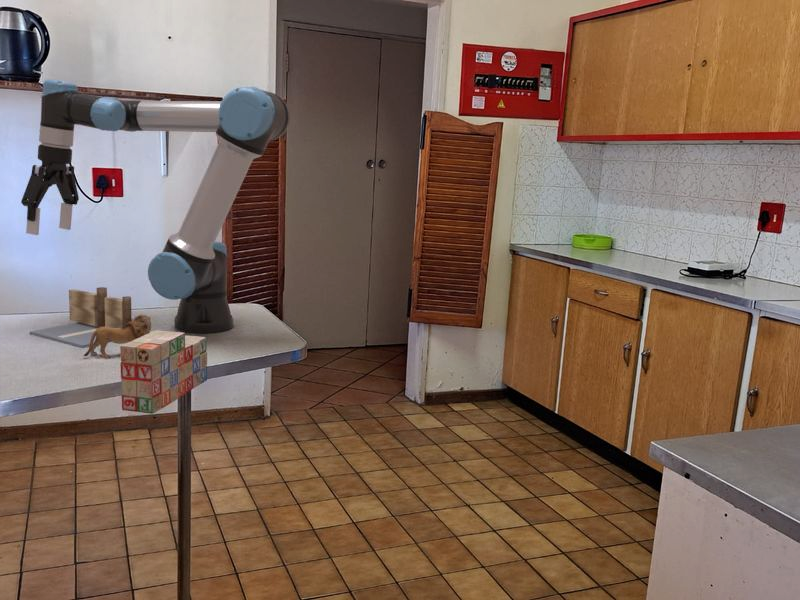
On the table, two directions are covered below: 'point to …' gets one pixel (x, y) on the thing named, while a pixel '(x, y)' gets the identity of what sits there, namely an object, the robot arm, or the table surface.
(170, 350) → the stack of blocks
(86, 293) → the hinged fence panel
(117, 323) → the fence post and fixed section
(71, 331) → the card
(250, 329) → the table surface
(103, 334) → the lion figurine
